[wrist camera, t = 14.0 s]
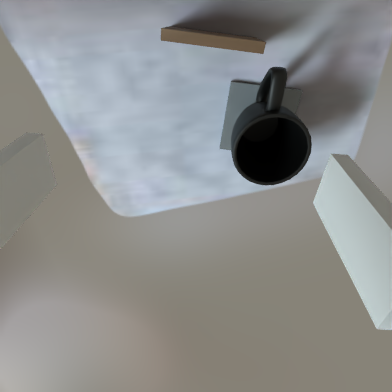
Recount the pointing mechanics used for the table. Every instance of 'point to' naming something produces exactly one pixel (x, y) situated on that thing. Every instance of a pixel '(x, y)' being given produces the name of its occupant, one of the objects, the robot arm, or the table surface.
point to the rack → (212, 39)
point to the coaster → (244, 97)
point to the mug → (270, 135)
